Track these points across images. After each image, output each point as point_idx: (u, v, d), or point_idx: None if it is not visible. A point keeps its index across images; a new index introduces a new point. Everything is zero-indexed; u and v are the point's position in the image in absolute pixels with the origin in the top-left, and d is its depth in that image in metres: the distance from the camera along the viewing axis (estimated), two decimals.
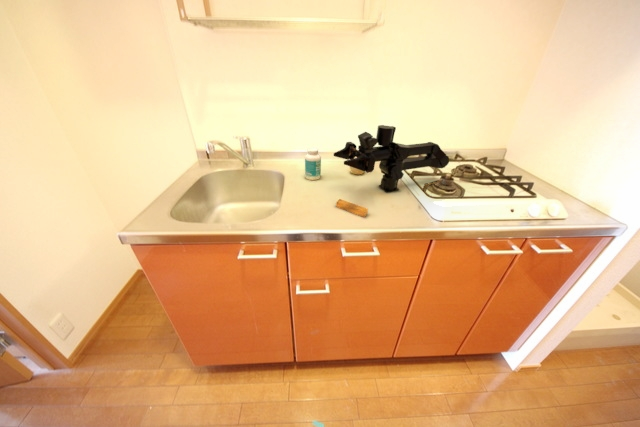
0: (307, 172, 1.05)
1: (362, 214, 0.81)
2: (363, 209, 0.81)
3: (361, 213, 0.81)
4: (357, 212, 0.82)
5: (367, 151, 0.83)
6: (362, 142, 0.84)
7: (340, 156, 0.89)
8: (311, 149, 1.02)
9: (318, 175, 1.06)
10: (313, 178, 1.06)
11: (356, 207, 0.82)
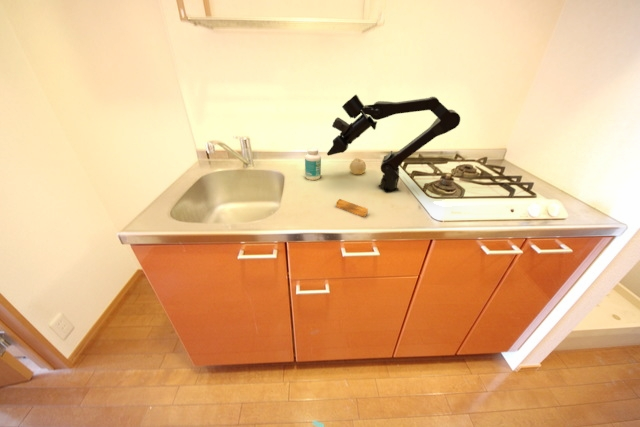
0: (307, 172, 1.05)
1: (362, 214, 0.81)
2: (363, 209, 0.81)
3: (361, 213, 0.81)
4: (357, 212, 0.82)
5: (342, 133, 0.91)
6: None
7: None
8: (311, 149, 1.03)
9: (318, 175, 1.06)
10: (313, 178, 1.06)
11: (356, 207, 0.82)
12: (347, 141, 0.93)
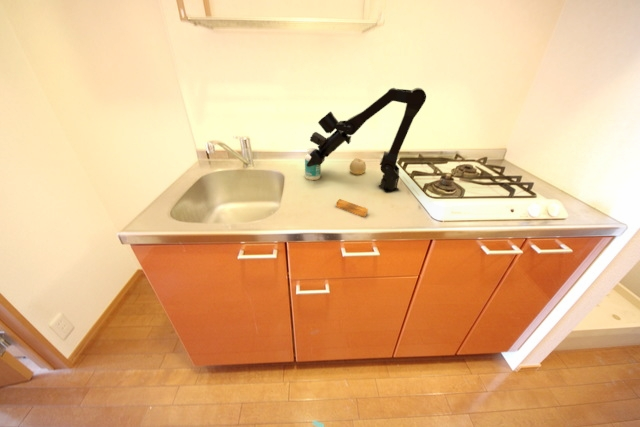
0: (307, 172, 1.05)
1: (362, 214, 0.81)
2: (363, 209, 0.81)
3: (361, 213, 0.81)
4: (357, 212, 0.82)
5: (319, 146, 0.98)
6: None
7: None
8: (311, 149, 1.02)
9: (318, 175, 1.06)
10: (313, 178, 1.06)
11: (356, 207, 0.82)
12: (324, 154, 0.99)
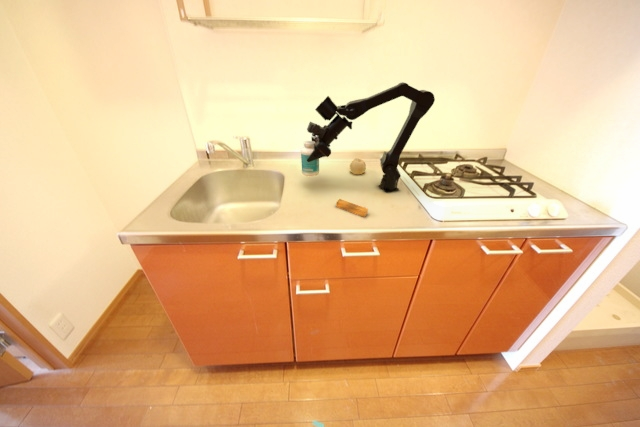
0: (307, 168, 0.93)
1: (362, 214, 0.81)
2: (363, 209, 0.81)
3: (361, 213, 0.81)
4: (357, 212, 0.82)
5: (320, 137, 0.87)
6: None
7: None
8: (307, 142, 0.91)
9: (318, 170, 0.96)
10: (314, 174, 0.95)
11: (356, 207, 0.82)
12: (326, 145, 0.90)
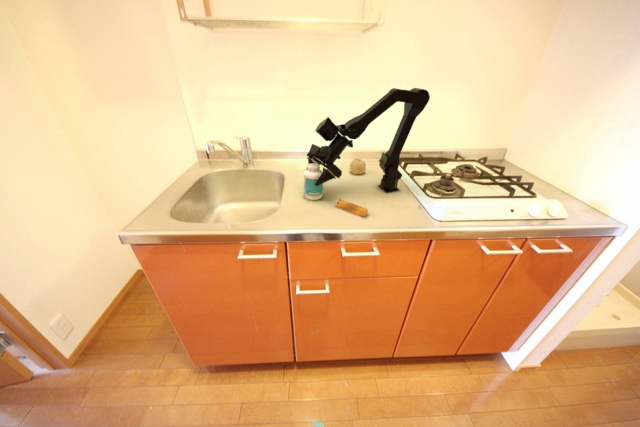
0: (314, 192, 0.89)
1: (362, 214, 0.81)
2: (363, 209, 0.81)
3: (361, 213, 0.81)
4: (357, 212, 0.82)
5: (326, 159, 0.84)
6: None
7: None
8: (311, 165, 0.86)
9: (322, 191, 0.93)
10: (320, 196, 0.91)
11: (356, 207, 0.82)
12: None
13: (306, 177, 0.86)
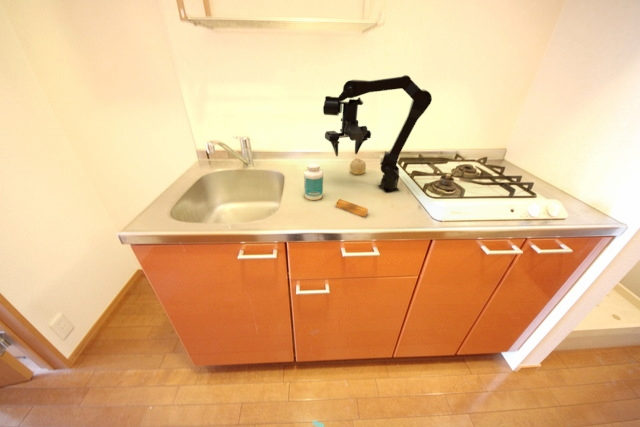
0: (314, 192, 0.89)
1: (362, 214, 0.81)
2: (363, 209, 0.81)
3: (361, 213, 0.81)
4: (357, 212, 0.82)
5: None
6: None
7: None
8: (311, 165, 0.86)
9: (322, 191, 0.93)
10: (320, 196, 0.91)
11: (356, 207, 0.82)
12: None
13: (306, 177, 0.86)
